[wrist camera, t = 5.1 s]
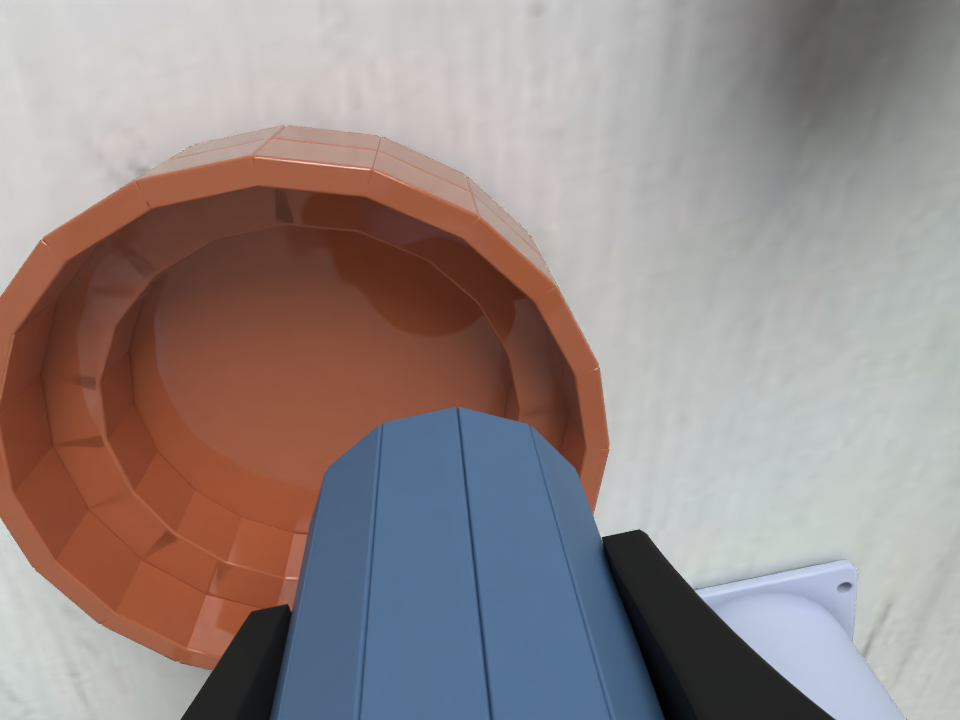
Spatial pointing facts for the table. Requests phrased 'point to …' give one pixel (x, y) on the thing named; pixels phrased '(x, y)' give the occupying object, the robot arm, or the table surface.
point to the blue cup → (458, 585)
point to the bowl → (259, 366)
